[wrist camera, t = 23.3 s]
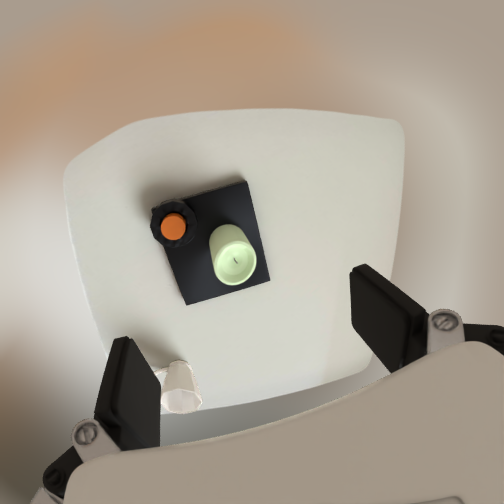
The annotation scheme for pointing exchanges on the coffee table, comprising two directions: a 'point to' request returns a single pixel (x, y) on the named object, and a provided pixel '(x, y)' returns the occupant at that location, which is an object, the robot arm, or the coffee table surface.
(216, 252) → the candle
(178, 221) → the button
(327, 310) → the coffee table surface
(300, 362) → the coffee table surface
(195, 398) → the cup
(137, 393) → the robot arm
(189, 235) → the scale
